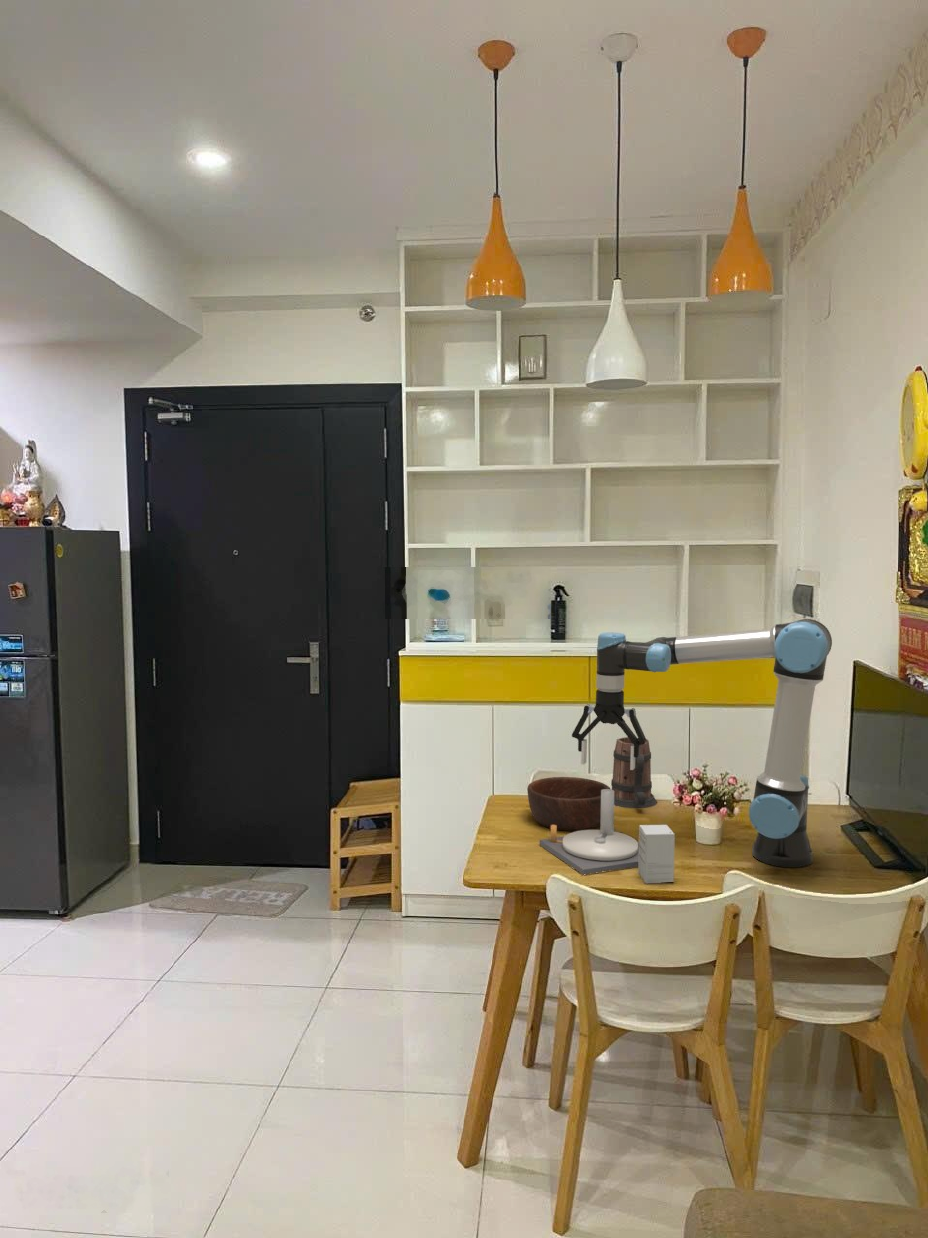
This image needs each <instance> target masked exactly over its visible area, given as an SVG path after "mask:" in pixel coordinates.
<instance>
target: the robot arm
mask: <svg viewBox="0 0 928 1238" xmlns="http://www.w3.org/2000/svg"><path fill="white" fill-rule="evenodd" d="M832 645H833V639H832V635H831V633H830V631H829V629H828V627H826V625H824V624H823V623H822V622H820V621H818V620H817V619H811V618H803V619H799V620H796V621H793V622H792V621H791V622H786V623H778V624H774V625H773V626H772V627H771V628H766V629H765V628H764V629H763V628H762V629H754V630H753V629H751V630H741V631H740V630H739V631H731V632H730V631H728V632H720V633H719V632H717V633H706V634H695V635H683V636H681V635H680V636H676V637H675V636H670V637H667V636H662V637H656V638H655V639H652V640H649V641H646V642H641V641H639V642H638V641H629V640H627V639H626V635H625V633H621V632H602V633H600V634H599V635H598V637H597V644H596V647H597V648H596V683H595V687H596V691H595V705H594V706H592V705H590V704H586V705H585V706H584V707H583V711H582V712H583V713H582V715H581V717H580V718H579V721H578V723H577V724H576V726H575V728H574V729H573V731H572V733H571V738H574V739H576V740H577V747H578V748H577V750H578V752H581V753H580V755H581V756H580V757H581V760H580V761H581V762H580V764H581V765H582V766H583V765H585V764H586V763H587V758H588V757H587V752H588V751H587V749H588V739H586V737H587V736H588V735H589V733H590V732H591V731H592V730H593V729H594V728H595V727H596V726H597V725H598V724H600V723H602V724H605V725H606V724H610V725H615V724H616V725H617V726H618V727H620V729H621V730H622V731H623V732H624V734H625V736H627V737H628V738H629V739H630V740H631V742H632V743H633V745H632V746H631V759H630V770H633V769H634V768H635V757H636V758H638V756H639V746H640V745H642V744H645V743H646V741H647V740H648V739H647V738H646V735H645V734H644V731H643V729H642V727H641V725H640V722H639V721H638V718H637V716H636V715H637V713H636V709H635V708H634V707H632V708H630V709H629V708H627V709H625V705H624V703H625V702H624V701H625V691H624V689H625V675H626V674H625V670H632V671H633V670H635V671H644V672H651V673H659V672H660V673H665V672H667V671H668V670H669V669H670V666H671V665H679V664H680V665H681V664H695V663H697V664H698V663H710V662H713V663H714V662H723V661H738V660H739V661H740V660H753V659H757V660H759V659H769V658H770V659H771V658H774V663H773V670H772V671H773V673H772V674H774V675H775V677H776V678H777V680H778V681H777V688H776V694H775V701H774V706H773V714H772V719H771V727H770V733H769V738H768V744H767V751H766V752H767V753H766V760H765V765H764V771H763V772H762V773H760V774H759V775H757V776H756V781H755V787H754V793H753V800H752V801H751V803H750V804H749V807H748V817H749V820H750V823H751V824H752V826H753V828H754V829H755V830H756V831H757V835H756V837H755V838H756V839H755V841H754V842H753V844H752V846H751V847H752V850H751V851H752V853H751V854H752V857H753V856H754V857H755V860H757V859H758V860H757V861H759V860H760V862H761V861H762V862H761V863H765V864H767V865H770V864H771V866H775V867H781V868H803V867H807V866H809V864H810V865H811V864H812V863H813V856H814V855H813V854H814V853H813V850H812V848H811V844H810V839H809V836H808V831H807V828H808V827H807V825H808V802H809V789H810V785H809V778H808V777H807V776H806V775H804V774H802V771H803V770H802V769H803V763H804V757H805V752H806V751H805V750H806V746H807V745H806V744H807V739H808V732H809V726H810V719H811V716H812V715H811V713H812V708H813V707H812V706H813V703H814V695H815V690H816V686H817V685H818V684H819V683H821V682H823V681H824V677H825V669H826V664H827V657H828V655H829V654H830V652H831V650H832ZM593 712H594V714H595V715H596V717H595V718H594V719H593V721H592V722H591V723H590V724H589V725H588V726H587V727H586V728H585V729H584V730H583V732H582V733H580V732H581V730H582V728H583V726H584V725H585V722H586V721H587V719H588V717H589V715H591V714H592V713H593ZM624 715H626V716H627V718H629V721H630V723H631V724H632V727H633V729H634V731H633V730H632V729H631V728H630V727H629V725H628V724H627V722H626V721H625V719H624V718H623V716H624ZM634 732H635V733H634ZM635 734H636V735H635ZM638 738H639V740H638ZM646 739H647V740H646ZM754 857H753V858H754ZM806 865H807V866H806ZM802 866H803V867H802Z"/></svg>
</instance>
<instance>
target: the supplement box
mask: <svg viewBox="0 0 928 1238" xmlns="http://www.w3.org/2000/svg"><path fill="white" fill-rule="evenodd" d="M675 840H676V834H675V833H674V832H673V830H672V829H671V828H670V827H669V826H668V824H639V826H638V843H639V861H638V867H637V868H638V869H637V872H638V874H639V876H640V877H641V880H642V881H643V882H644V884H662V883H661V882H674V881H675V878H674V877H675V876H674V875H675V847H676V846H675V844H676V843H675V842H676V841H675Z"/></svg>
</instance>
